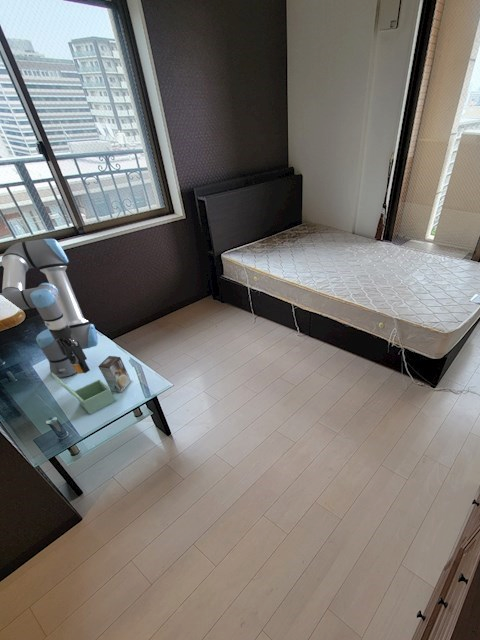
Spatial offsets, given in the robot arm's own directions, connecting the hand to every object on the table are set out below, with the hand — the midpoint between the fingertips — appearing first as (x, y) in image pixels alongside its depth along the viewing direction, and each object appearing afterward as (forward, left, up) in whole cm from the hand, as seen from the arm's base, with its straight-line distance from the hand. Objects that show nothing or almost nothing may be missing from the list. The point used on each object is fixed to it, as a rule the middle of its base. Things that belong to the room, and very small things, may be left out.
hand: (82, 369), depth 160 cm
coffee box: (+1, +12, -17) cm, 21 cm away
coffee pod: (0, 0, 0) cm, 0 cm away
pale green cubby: (+5, -2, -17) cm, 18 cm away
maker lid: (+5, -9, -2) cm, 11 cm away
